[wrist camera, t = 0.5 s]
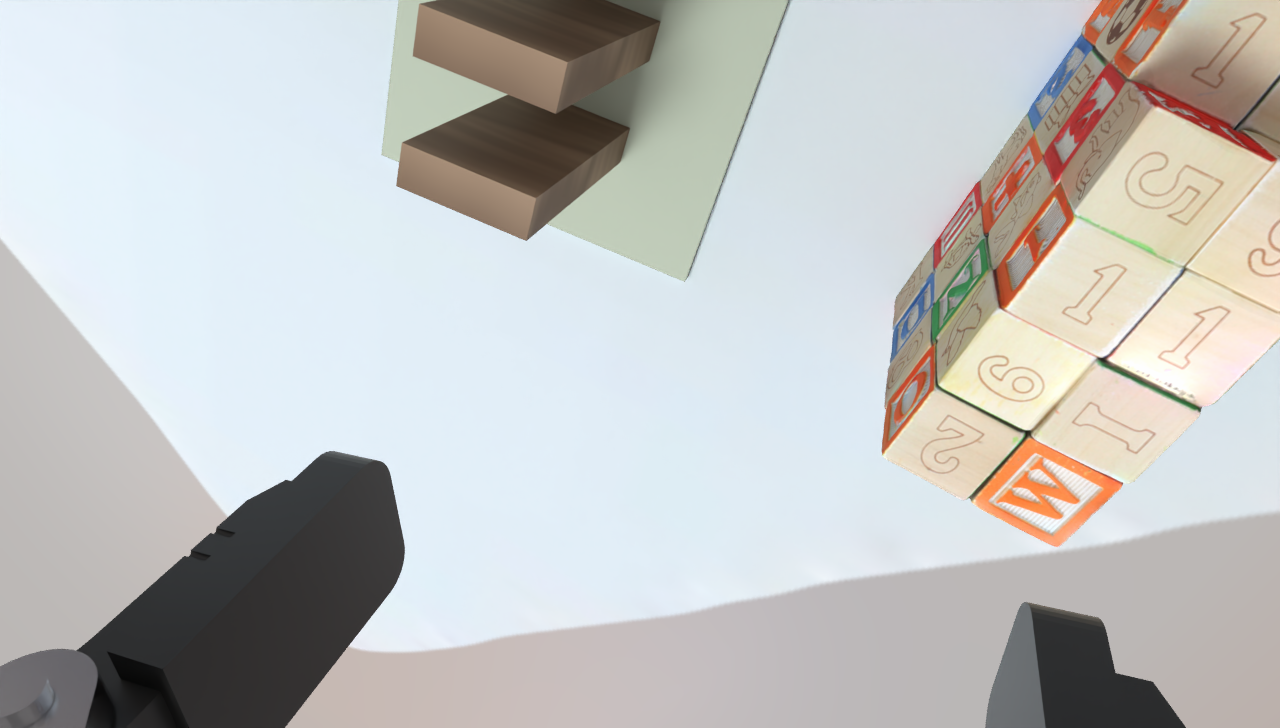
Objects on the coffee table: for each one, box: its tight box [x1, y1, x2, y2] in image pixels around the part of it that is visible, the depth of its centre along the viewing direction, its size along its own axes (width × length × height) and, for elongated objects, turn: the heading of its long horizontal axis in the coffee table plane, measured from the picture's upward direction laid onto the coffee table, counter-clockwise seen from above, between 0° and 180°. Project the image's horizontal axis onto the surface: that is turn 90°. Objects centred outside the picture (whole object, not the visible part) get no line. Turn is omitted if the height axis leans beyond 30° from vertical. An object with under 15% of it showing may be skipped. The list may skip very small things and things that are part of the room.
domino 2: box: [396, 95, 630, 241], centre depth 31 cm, size 2×5×10 cm, turn 74°
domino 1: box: [413, 0, 661, 114], centre depth 29 cm, size 2×5×10 cm, turn 73°
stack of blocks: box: [882, 0, 1280, 547], centre depth 24 cm, size 21×6×12 cm, turn 158°
